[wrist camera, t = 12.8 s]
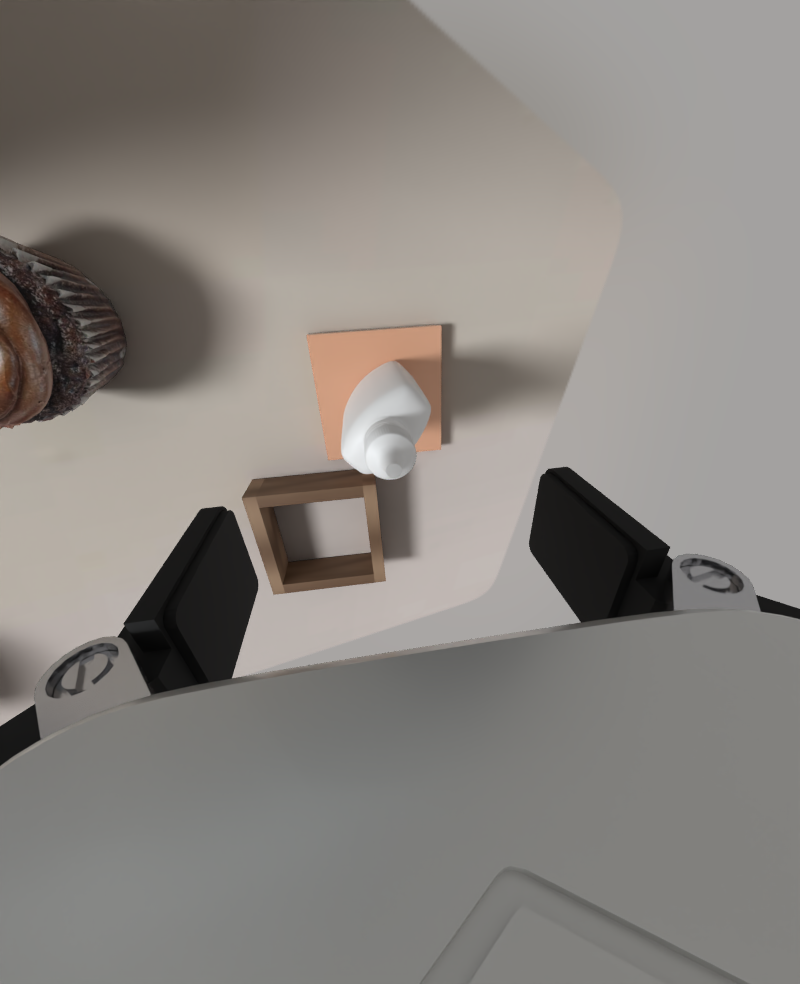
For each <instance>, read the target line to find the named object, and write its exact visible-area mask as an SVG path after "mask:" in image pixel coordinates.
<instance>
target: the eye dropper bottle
mask: <svg viewBox="0 0 800 984" xmlns="http://www.w3.org/2000/svg"><path fill="white" fill-rule="evenodd" d="M430 413H431V405H430V403H429V401H428V399H427V398H426V396H425V394H424V393H423V391H422V390H421V388H420V387H419V385H418V384H417V382H416V381H415V379H414V378H413V377H412V375H411V374H410V373H409V372H408V371H407V370H406V369H405V368H404V367H403V366H402V365H401V364H400V363H398V362H396V361H389V362H387V363H385V364H382V365H381V366H379V367H377V368H376V369H374V370H373V371H371V372H370V373H369V374H368V375H366V376H365V377H364V378H363V379H362V380H361V381H360V382H359V384H358V385H357V386H356V388H355V389H354V391H353V392H352V394H351V396H350V398H349V400H348V402H347V404H346V407H345V410H344V415H343V426H342V438H341V454H342V456H343V458H344V459H345V461H346V462H348V463H349V464H350V465H351V466H352V467H354V468H355V469H356V470H358V471H359V472H361V473H363V474H372V473H373V474H374V475H376V476H378V477H379V478H383V479H385V480H386V479H388V480H392V479H393V480H394V479H399V478H401V477H403V476H404V475H406V474H408V472H410V470H411V469H412V468H413V466H414V464H415V461H416V454H417V453H416V448H415V444H416V443H417V441H418V440H419V438H420V437H421V435H422V433H423V431H424V429H425V427H426V425H427V422H428V420H429V417H430Z"/></svg>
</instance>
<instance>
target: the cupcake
mask: <svg viewBox="0 0 800 984" xmlns="http://www.w3.org/2000/svg"><path fill="white" fill-rule="evenodd" d="M126 346H127V345H126V337H125V334H124V331H123V327H122V323H121V319H120V318H119V316H118V315H117V313H116V312H115V310H114V308H113V306H112V304H111V302H110V300H109V299H108V298H107V297H106V296H105V295H104V294H103V292H102V291H101V289H100V288H99V287H97V286H96V285H95V284H94V283H92V282H91V281H90V280H89V279H87V278H86V277H85V276H84V275H83V274H82V272H80V271H79V270H77V269H76V268H74V267H73V266H71V265H70V264H68V263H66V262H64V261H62V260H60V259H58V258H55V257H52V256H50V255H47V254H44V253H42V252H39V251H36V250H34V249H31V248H29V247H26V246H23V245H21V244H18V243H16V242H14V241H12V240H10V239H8V238H5V237H3V236H0V429H1V428H2V427H7V428H11V429H13V427H14V426H15V425H20V424H21V423H32V422H33V421H35V420H37V421H39V422H43V421H46V420H51V419H53V418H55V417H56V416H58V415H63V416H64V415H66V414H67V413H68V412H70V411H73V410H75V409H76V408H77V407H79V406H80V405H83V404H84V403H85V402H86V401H87V399H88V398H89V397H90V396H91V395H92V394H94V393H95V392H96V391H97V390H98V389H99V388H101V387H102V386H103V385H105V384H107V383H108V382H109V381H110V380H111V379H112V378H113V377H114V376H115V375H116V374H117V372H118V371H119V370H120V368H121V367H122V366H123V358H124V356H125V352H126Z"/></svg>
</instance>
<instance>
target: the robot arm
mask: <svg viewBox="0 0 800 984" xmlns="http://www.w3.org/2000/svg"><path fill="white" fill-rule="evenodd" d="M529 547H530V550H531V552H532V554H533V555H534V557H535V558H536V560H537V561H538V563H539V564H540V565H541V567H542V568H543V569H544V571H545V572H546V574H547V575H548V577H549V578H550V579H551V581H552V582H553V584H554V585H555V586H556V588H557V589H558V591H559V592H560V593H561V595H562V596H563V598H564V599H565V600H566V602H567V603H568V605H569V606H570V607H571V609H572V610H573V612H574V613H575V614H576V616H577V617H578V619H579V620H580V621H581V623H576V624H569V625H562V626H555V627H549V628H542V629H536V630H530V631H522V632H516V633H509V634H503V635H496V636H490V637H483V638H477V639H470V640H464V641H458V642H451V643H445V644H439V645H432V646H426V647H420V648H413V649H407V650H401V651H394V652H388V653H382V654H375V655H369V656H364V657H357V658H351V659H345V660H339V661H332V662H326V663H321V664H314V665H308V666H302V667H296V668H290V669H284V670H278V671H272V672H265V673H260V674H254V675H249V676H243V677H238V678H232V676H233V672H234V669H235V665H236V662H237V659H238V655H239V652H240V649H241V645H242V642H243V638H244V635H245V632H246V628H247V625H248V622H249V618H250V615H251V611H252V608H253V605H254V601H255V598H256V595H257V591H258V579H257V576H256V573H255V570H254V568H253V565H252V562H251V559H250V557H249V554H248V551H247V548H246V545H245V543H244V540H243V537H242V534H241V532H240V529H239V526H238V523H237V521H236V518H235V515H234V513H233V512H232V511H231V510H229V511H227V509H226V508H225V507H223V506H221V507H212V508H204V509H201V510H200V511H199V512H198V514H197V515H196V517H195V518H194V520H193V521H192V523H191V524H190V526H189V527H188V529H187V530H186V532H185V533H184V535H183V536H182V538H181V539H180V540H179V542H178V543H177V545H176V546H175V548H174V549H173V551H172V552H171V554H170V555H169V557H168V558H167V560H166V561H165V563H164V564H163V566H162V567H161V569H160V570H159V572H158V573H157V575H156V576H155V578H154V579H153V581H152V582H151V584H150V585H149V587H148V588H147V590H146V591H145V593H144V594H143V596H142V597H141V599H140V600H139V602H138V603H137V605H136V606H135V608H134V609H133V611H132V612H131V614H130V615H129V616H128V618H127V619H126V621H125V622H124V625H125V627H124V628H123V630H122V631H121V633H120V634H119V636H118V637H114V636H113V637H102V638H99V639H96V640H92V641H89V642H87V643H85V644H83V645H81V646H79V647H77V648H75V649H74V650H72V651H70V652H69V653H67V654H66V655H64V656H63V657H62V658H60V659H59V660H58V661H57V662H56V663H54V664H53V665H52V666H51V667H50V668H49V669H48V670H47V672H46V673H45V674H44V675H43V676H42V677H41V679H40V681H39V683H38V685H37V686H36V688H35V695H34V700H35V704H34V705H33V706H31V707H30V708H28V709H26V710H25V711H23V712H22V713H20V714H19V715H17V716H16V717H14V718H12V719H11V720H9V721H8V722H6V723H5V724H3V725H2V726H0V984H800V609H798V608H795V607H792V606H789V605H786V604H783V603H780V602H776V601H773V600H770V599H767V598H764V597H761V596H758V595H756V594H755V591H754V587H753V585H752V583H751V582H750V580H749V579H748V578H747V577H746V576H745V575H744V574H743V573H742V572H741V571H739V570H737V569H736V568H734V567H733V566H731V565H729V564H727V563H725V562H723V561H721V560H718V559H715V558H711V557H708V556H704V555H698V554H684V555H679V556H677V557H676V558H675V559H673V560H672V559H671V558H670V557H669V556H667V553H668V551H669V549H670V547H669V546H668V545H667V544H666V543H664V542H663V541H662V540H661V539H659V538H658V537H657V536H655V535H654V534H653V533H651V532H650V531H649V530H648V529H647V528H645V527H644V526H643V525H641V524H640V523H639V522H638V521H636V520H635V519H634V518H633V517H631V516H630V515H629V514H627V513H626V512H625V511H624V510H622V509H621V508H620V507H619V506H617V505H616V504H615V503H613V502H612V501H611V500H610V499H608V498H607V497H606V496H605V495H603V494H602V493H601V492H599V491H598V490H597V489H596V488H594V487H593V486H592V485H591V484H589V483H588V482H587V481H585V480H584V479H583V478H582V477H580V476H579V475H578V474H577V473H575V472H574V471H573V470H571V469H570V468H568V467H561V468H552V469H548V470H547V471H546V473H545V474H543V475H542V476H541V477H540V482H539V488H538V494H537V499H536V505H535V511H534V517H533V523H532V528H531V534H530V540H529Z"/></svg>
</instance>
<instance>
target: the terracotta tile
mask: <svg viewBox="0 0 800 984" xmlns="http://www.w3.org/2000/svg"><path fill="white" fill-rule="evenodd" d="M441 330H442V326H441V325H425V326H411V327H397V328H383V329H369V330H355V331H341V332H327V333H313V334H307V341H308V347H309V353H310V358H311V364H312V370H313V375H314V381H315V387H316V393H317V398H318V404H319V410H320V415H321V421H322V427H323V433H324V438H325V444H326V450H327V455H328V460H337V459H344V458H343V456H342V454H341V438H342V426H343V415H344V410H345V407H346V404H347V402H348V400H349V398H350V396H351V394H352V392H353V391H354V389H355V388H356V386H357V385H358V384H359V382H360V381H361V380H362V379H363V378H364V377H365V376H366V375H368V374H369V373H370V372H371V371H373V370H374V369H376V368H377V367H379V366H381V365H382V364H385V363H387V362H389V361H396V362H398V363H400V364H401V365H402V366H403V367H404V368H405V369H406V370H407V371H408V372H409V373H410V374H411V375H412V377H413V378H414V379H415V381H416V382H417V384H418V385H419V387H420V388H421V390H422V391H423V393H424V394H425V396H426V398H427V399H428V401H429V403H430V405H431V413H430V417H429V420H428V422H427V425H426V427H425V429H424V431H423V433H422V435H421V437H420V438H419V440H418V441H417V443H416V444H415V448H416V452H420V451H431V450H441Z"/></svg>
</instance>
